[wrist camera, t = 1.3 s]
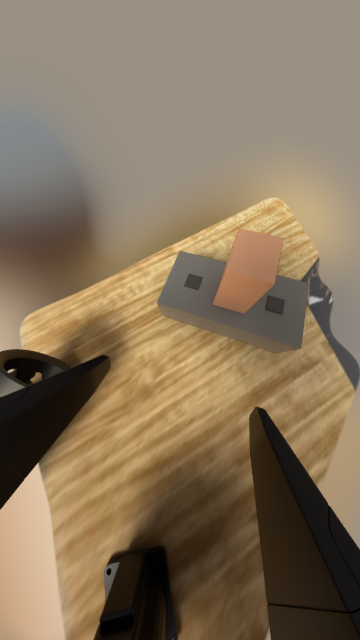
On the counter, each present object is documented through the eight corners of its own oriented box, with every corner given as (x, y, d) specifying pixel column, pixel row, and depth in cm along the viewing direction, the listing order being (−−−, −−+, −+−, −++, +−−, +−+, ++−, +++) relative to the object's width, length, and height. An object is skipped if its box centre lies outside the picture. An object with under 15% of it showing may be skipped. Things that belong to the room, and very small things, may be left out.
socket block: (276, 352, 22) (302, 348, 17) (162, 315, 24) (156, 302, 19) (284, 300, 24) (309, 282, 19) (181, 271, 27) (179, 249, 22)
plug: (234, 323, 22) (274, 284, 12) (208, 315, 23) (225, 271, 12) (241, 295, 24) (283, 237, 13) (217, 288, 24) (238, 228, 14)
